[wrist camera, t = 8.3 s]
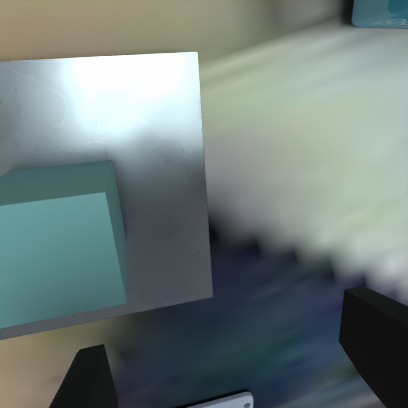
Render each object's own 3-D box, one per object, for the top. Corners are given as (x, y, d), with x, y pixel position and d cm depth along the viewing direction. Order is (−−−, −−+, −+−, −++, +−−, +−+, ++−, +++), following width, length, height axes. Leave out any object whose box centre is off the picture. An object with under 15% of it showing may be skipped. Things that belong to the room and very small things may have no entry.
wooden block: (126, 242, 15) (126, 303, 11) (35, 257, 14) (-3, 329, 10) (111, 159, 13) (105, 192, 9) (9, 170, 12) (-50, 212, 8)
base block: (202, 271, 19) (213, 297, 17) (-13, 311, 17) (-35, 346, 15) (186, 57, 15) (197, 51, 12) (-107, 72, 13) (-159, 69, 10)
